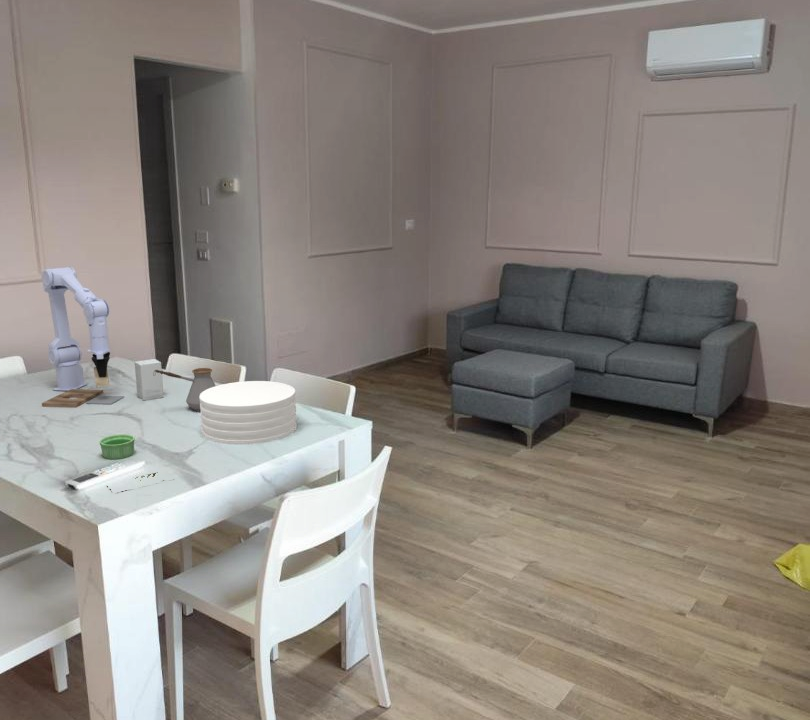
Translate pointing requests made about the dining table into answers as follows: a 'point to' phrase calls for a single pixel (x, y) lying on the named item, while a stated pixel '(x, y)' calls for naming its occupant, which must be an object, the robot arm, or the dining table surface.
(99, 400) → the slate rubber mat
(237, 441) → the plate stack
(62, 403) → the walnut pocket board
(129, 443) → the ramekin
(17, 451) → the dining table surface
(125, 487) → the dining table surface
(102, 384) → the beech block
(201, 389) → the coffee pot
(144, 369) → the supplement box
